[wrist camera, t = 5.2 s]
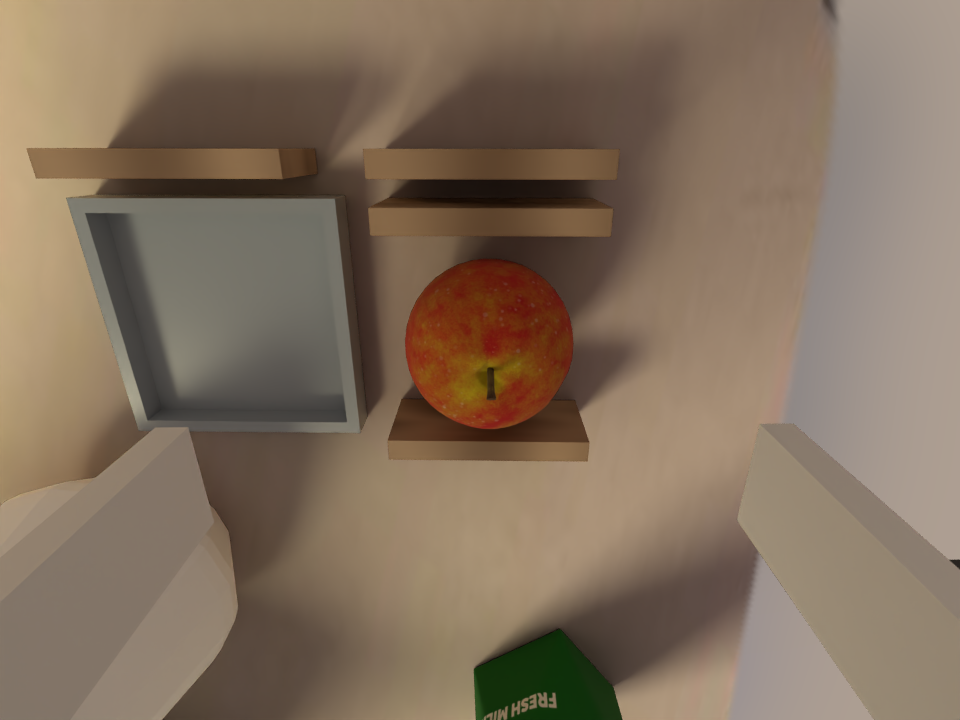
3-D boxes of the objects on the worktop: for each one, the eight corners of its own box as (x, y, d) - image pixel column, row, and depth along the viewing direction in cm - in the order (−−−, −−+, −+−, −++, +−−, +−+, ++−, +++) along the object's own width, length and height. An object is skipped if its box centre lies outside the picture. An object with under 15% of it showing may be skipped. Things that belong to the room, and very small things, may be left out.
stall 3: (403, 415, 26) (389, 459, 23) (388, 197, 22) (368, 207, 18) (573, 417, 26) (587, 461, 22) (592, 198, 22) (613, 208, 18)
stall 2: (386, 173, 22) (365, 179, 18) (363, -165, 17) (329, -250, 14) (594, 174, 21) (616, 179, 18) (624, -167, 17) (661, -254, 13)
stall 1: (112, 173, 22) (36, 178, 18) (21, -163, 17) (-104, -246, 14) (317, 173, 22) (282, 178, 18) (277, -165, 17) (220, -249, 14)
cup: (-12, 497, 29) (-411, 776, 16) (162, 403, 26) (-149, 647, 13) (148, 641, 33) (-63, 946, 21) (310, 573, 31) (184, 876, 18)
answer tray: (158, 415, 26) (138, 430, 25) (94, 194, 22) (66, 197, 21) (367, 417, 26) (360, 433, 25) (345, 195, 22) (334, 198, 20)
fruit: (408, 249, 23) (371, 297, 16) (560, 239, 23) (595, 283, 15) (425, 385, 26) (400, 480, 18) (561, 377, 25) (591, 472, 18)
